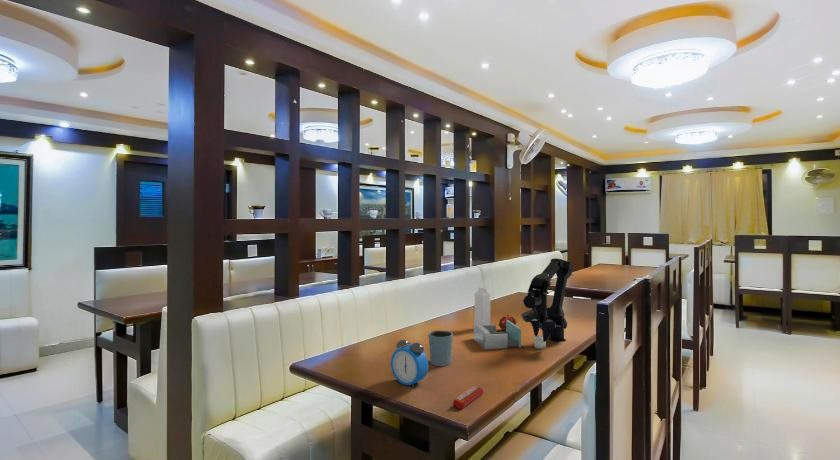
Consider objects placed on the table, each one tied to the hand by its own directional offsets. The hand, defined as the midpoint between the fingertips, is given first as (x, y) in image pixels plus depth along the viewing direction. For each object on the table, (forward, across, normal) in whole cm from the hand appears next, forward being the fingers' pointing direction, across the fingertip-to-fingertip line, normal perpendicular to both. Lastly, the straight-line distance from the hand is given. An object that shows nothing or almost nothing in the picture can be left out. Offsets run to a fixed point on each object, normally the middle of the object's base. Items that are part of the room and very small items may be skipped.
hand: (540, 338), depth 187 cm
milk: (+4, -34, -17) cm, 38 cm away
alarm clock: (+4, +32, -64) cm, 72 cm away
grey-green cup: (+4, +13, -49) cm, 51 cm away
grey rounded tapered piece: (+4, 0, 0) cm, 4 cm away
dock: (+4, -9, -21) cm, 23 cm away
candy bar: (+4, +49, -47) cm, 68 cm away
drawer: (+4, -9, -16) cm, 18 cm away
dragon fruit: (+4, -29, -5) cm, 30 cm away
